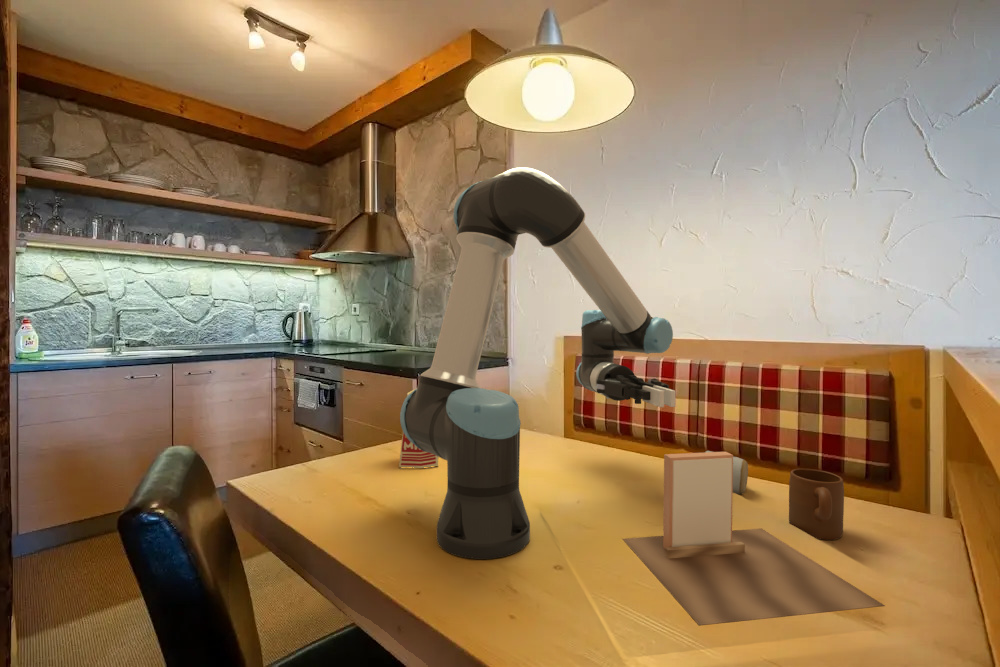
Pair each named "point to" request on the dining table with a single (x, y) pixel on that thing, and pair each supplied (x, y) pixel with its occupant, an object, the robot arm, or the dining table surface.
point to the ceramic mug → (739, 475)
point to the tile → (697, 499)
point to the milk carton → (415, 454)
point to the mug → (816, 503)
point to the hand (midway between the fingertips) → (667, 398)
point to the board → (746, 579)
